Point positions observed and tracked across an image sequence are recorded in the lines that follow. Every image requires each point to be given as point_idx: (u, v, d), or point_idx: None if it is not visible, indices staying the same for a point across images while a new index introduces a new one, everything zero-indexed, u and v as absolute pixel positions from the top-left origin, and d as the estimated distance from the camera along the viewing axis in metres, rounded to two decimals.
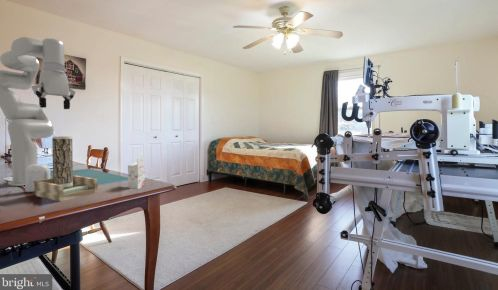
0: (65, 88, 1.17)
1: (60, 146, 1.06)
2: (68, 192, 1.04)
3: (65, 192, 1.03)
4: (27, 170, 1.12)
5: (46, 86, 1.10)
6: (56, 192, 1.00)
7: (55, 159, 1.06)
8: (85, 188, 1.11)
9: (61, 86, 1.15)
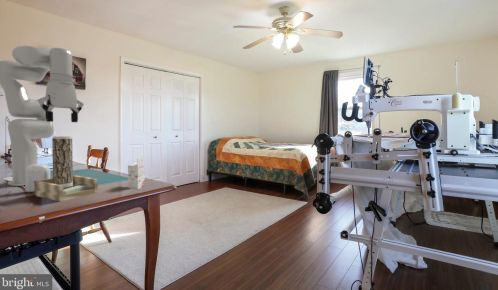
0: (73, 100, 1.09)
1: (60, 146, 1.06)
2: (69, 192, 1.04)
3: (67, 192, 1.03)
4: (27, 170, 1.12)
5: (53, 99, 1.03)
6: (56, 192, 1.00)
7: (55, 159, 1.06)
8: (83, 187, 1.11)
9: (69, 98, 1.08)
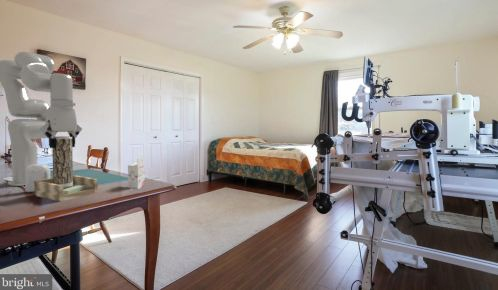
0: (73, 124, 1.10)
1: (60, 146, 1.06)
2: (71, 191, 1.05)
3: (68, 192, 1.03)
4: (27, 170, 1.12)
5: (53, 124, 1.03)
6: (56, 192, 1.00)
7: (55, 159, 1.06)
8: (83, 187, 1.12)
9: (69, 122, 1.09)
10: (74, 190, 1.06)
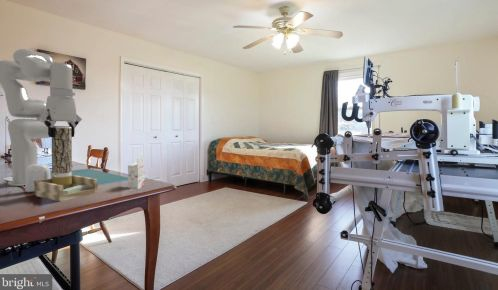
0: (72, 114, 1.10)
1: (59, 135, 1.06)
2: (70, 191, 1.04)
3: (68, 191, 1.03)
4: (27, 170, 1.12)
5: (53, 113, 1.03)
6: (56, 192, 1.00)
7: (54, 148, 1.06)
8: (84, 187, 1.12)
9: (69, 112, 1.09)
10: (74, 190, 1.06)
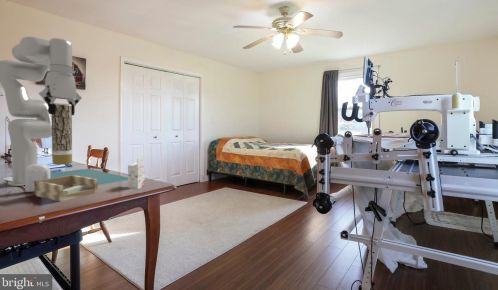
0: (72, 91, 1.09)
1: (59, 112, 1.05)
2: (70, 191, 1.04)
3: (68, 191, 1.03)
4: (27, 170, 1.12)
5: (52, 89, 1.02)
6: (56, 192, 1.00)
7: (54, 125, 1.05)
8: (83, 187, 1.12)
9: (69, 89, 1.08)
10: (74, 190, 1.06)
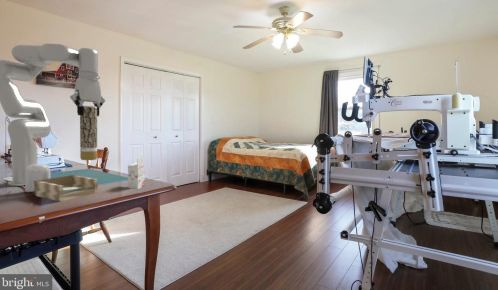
0: (98, 95, 1.22)
1: (87, 114, 1.18)
2: (65, 188, 1.05)
3: None
4: (27, 170, 1.12)
5: (81, 93, 1.16)
6: (56, 192, 1.00)
7: (82, 125, 1.18)
8: (79, 187, 1.12)
9: (95, 93, 1.21)
10: (68, 188, 1.07)
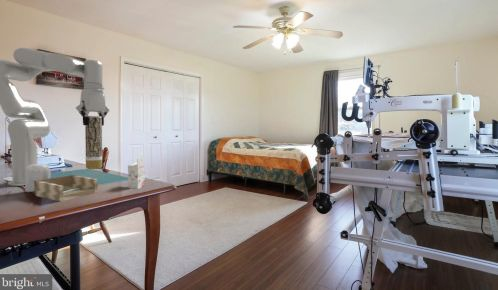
0: (102, 105, 1.25)
1: (92, 124, 1.21)
2: None
3: None
4: (27, 170, 1.12)
5: (87, 104, 1.19)
6: (56, 192, 1.00)
7: (88, 135, 1.21)
8: (75, 188, 1.12)
9: (99, 103, 1.24)
10: (63, 191, 1.07)
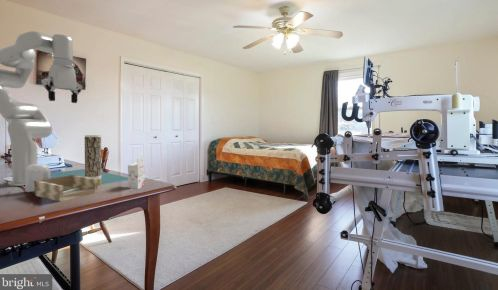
0: (73, 82, 1.21)
1: (92, 143, 1.22)
2: None
3: None
4: (27, 170, 1.12)
5: (55, 80, 1.14)
6: (56, 192, 1.00)
7: (87, 155, 1.22)
8: (75, 188, 1.12)
9: (70, 80, 1.19)
10: (63, 191, 1.07)
